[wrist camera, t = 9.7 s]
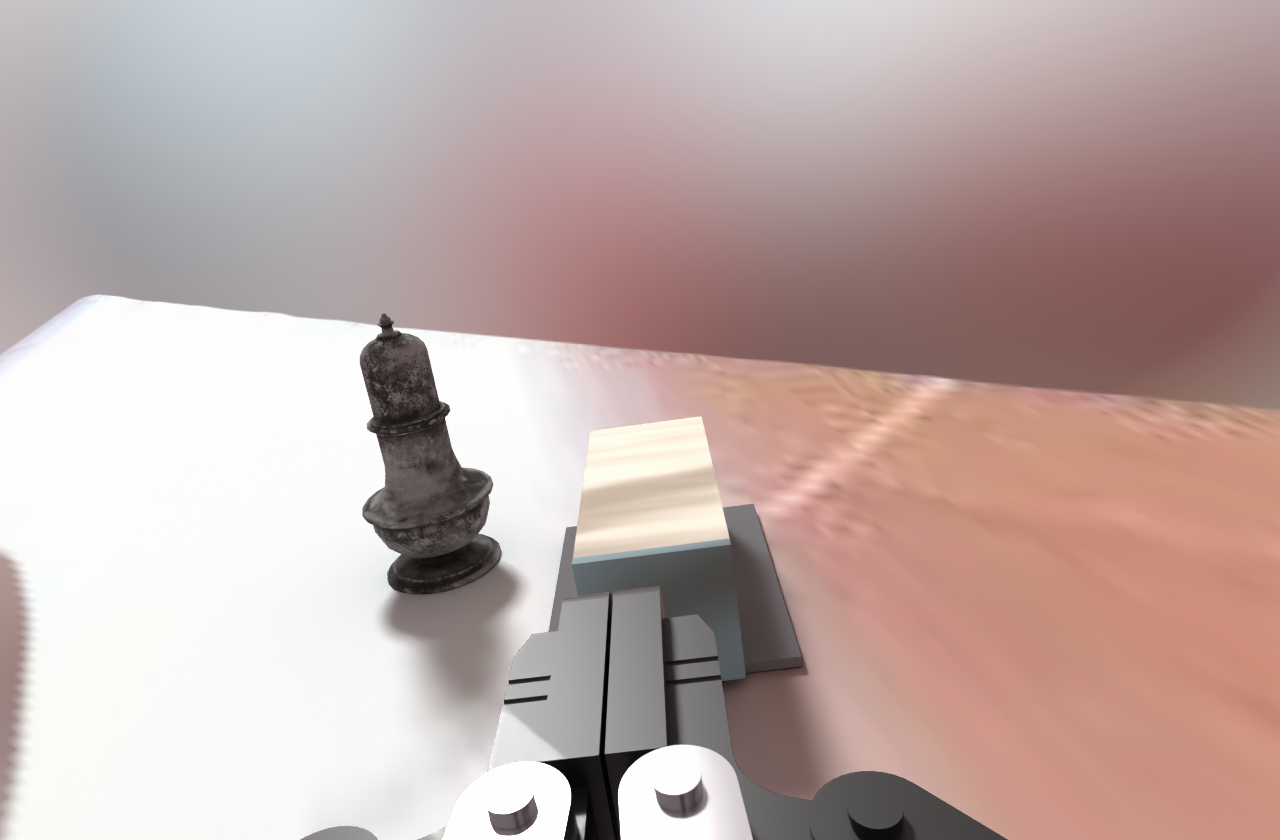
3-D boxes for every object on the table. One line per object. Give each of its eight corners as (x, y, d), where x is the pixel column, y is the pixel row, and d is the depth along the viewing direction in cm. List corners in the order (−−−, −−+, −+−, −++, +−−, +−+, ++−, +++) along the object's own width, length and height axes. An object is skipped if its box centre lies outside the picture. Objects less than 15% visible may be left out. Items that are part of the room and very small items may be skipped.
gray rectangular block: (802, 666, 28) (801, 656, 28) (541, 696, 29) (539, 687, 28) (754, 511, 40) (753, 503, 39) (567, 534, 40) (566, 527, 40)
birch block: (730, 544, 26) (701, 416, 37) (572, 564, 26) (590, 430, 37) (746, 678, 27) (713, 516, 39) (596, 695, 28) (607, 530, 39)
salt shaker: (354, 582, 38) (281, 330, 34) (448, 525, 43) (393, 296, 39) (440, 609, 35) (370, 334, 31) (532, 545, 39) (482, 297, 35)
